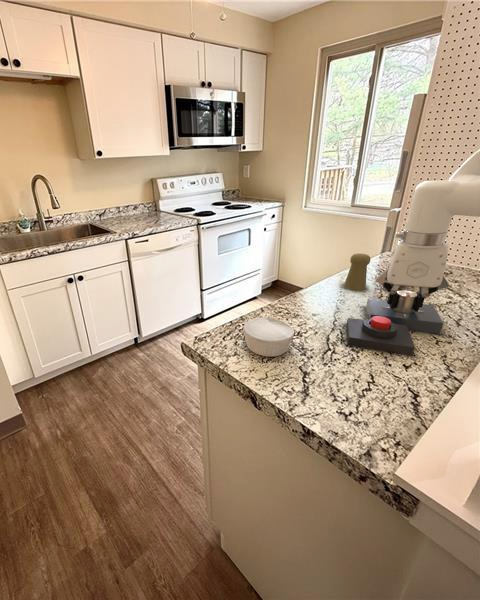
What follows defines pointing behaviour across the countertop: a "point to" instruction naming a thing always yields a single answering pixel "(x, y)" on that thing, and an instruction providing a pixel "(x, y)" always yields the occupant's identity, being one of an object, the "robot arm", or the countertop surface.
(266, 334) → the ramekin
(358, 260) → the cork
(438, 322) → the control panel
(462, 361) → the countertop surface
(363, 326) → the switch block
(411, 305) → the dial
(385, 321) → the power button
